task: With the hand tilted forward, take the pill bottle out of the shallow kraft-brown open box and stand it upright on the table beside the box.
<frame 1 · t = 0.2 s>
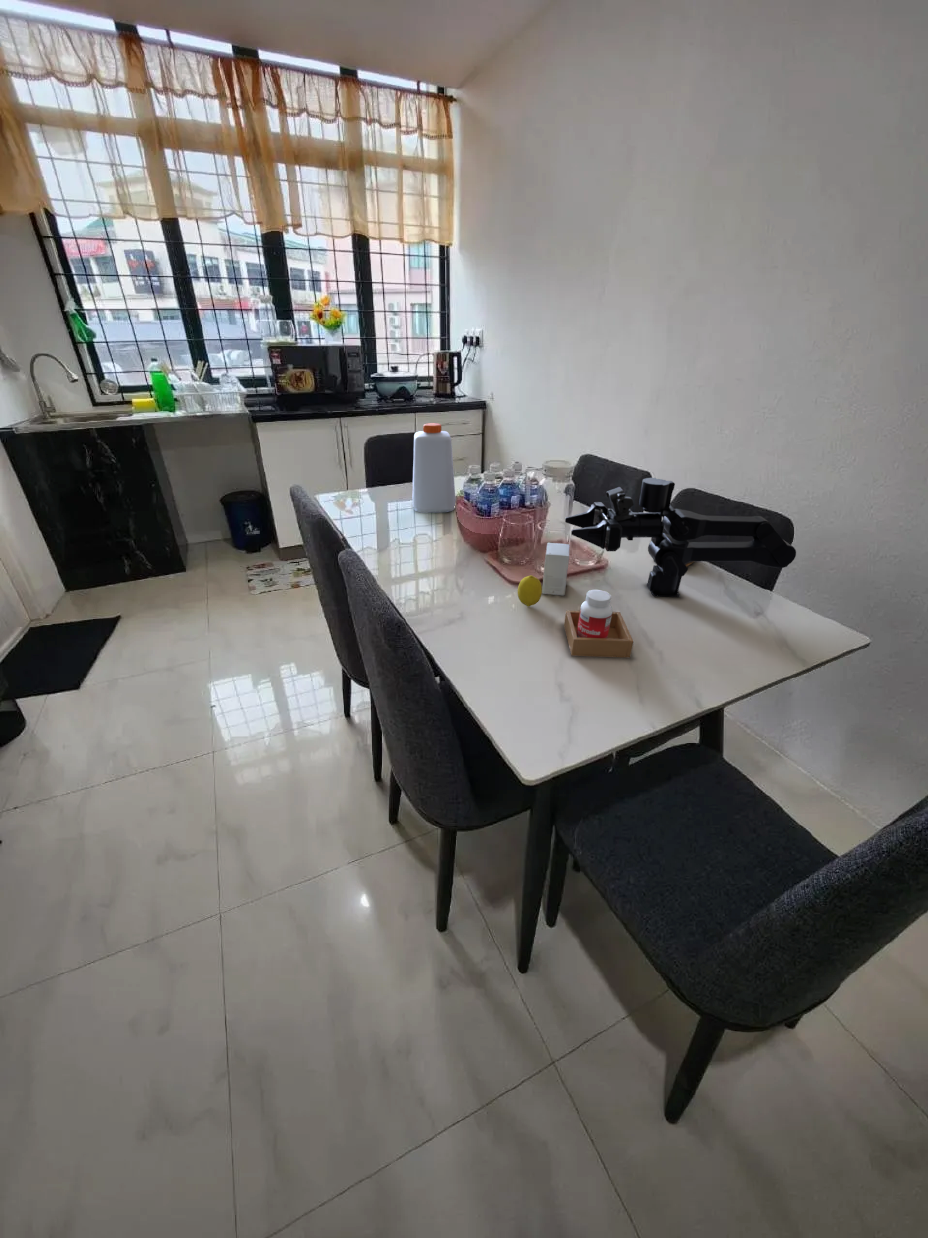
hand: (568, 525, 117), 16 cm above the table, tool horizontal, fingers open, 9 cm apart
lemon: (528, 607, 117), on the table
open box: (595, 640, 105), on the table
plastic bottle: (433, 507, 180), on the table
pill bottle: (590, 643, 103), resting on open box
small box: (553, 588, 125), on the table
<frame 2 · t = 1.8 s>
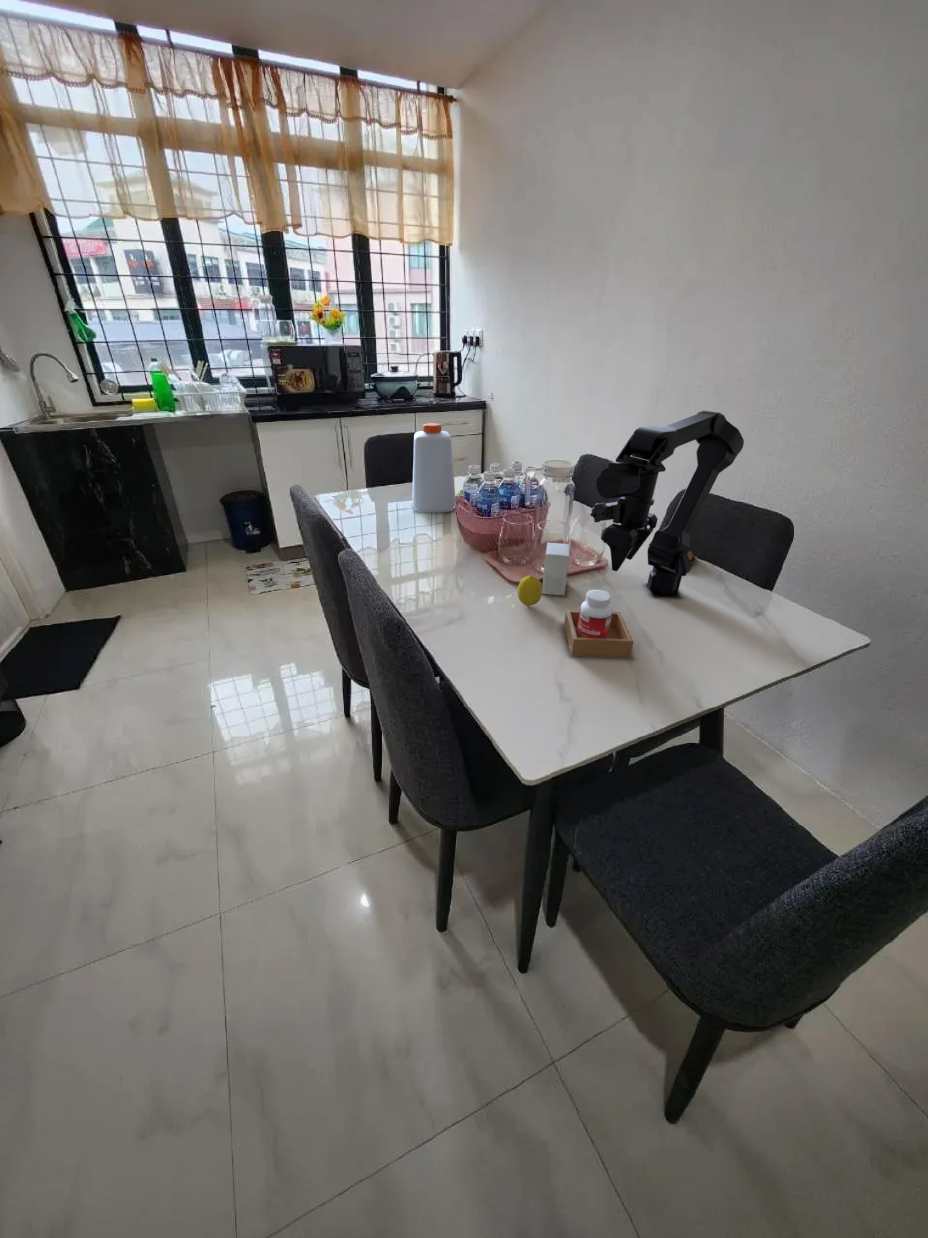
hand: (621, 564, 110), 12 cm above the table, tool pointing down, fingers open, 9 cm apart
nothing on the table moved.
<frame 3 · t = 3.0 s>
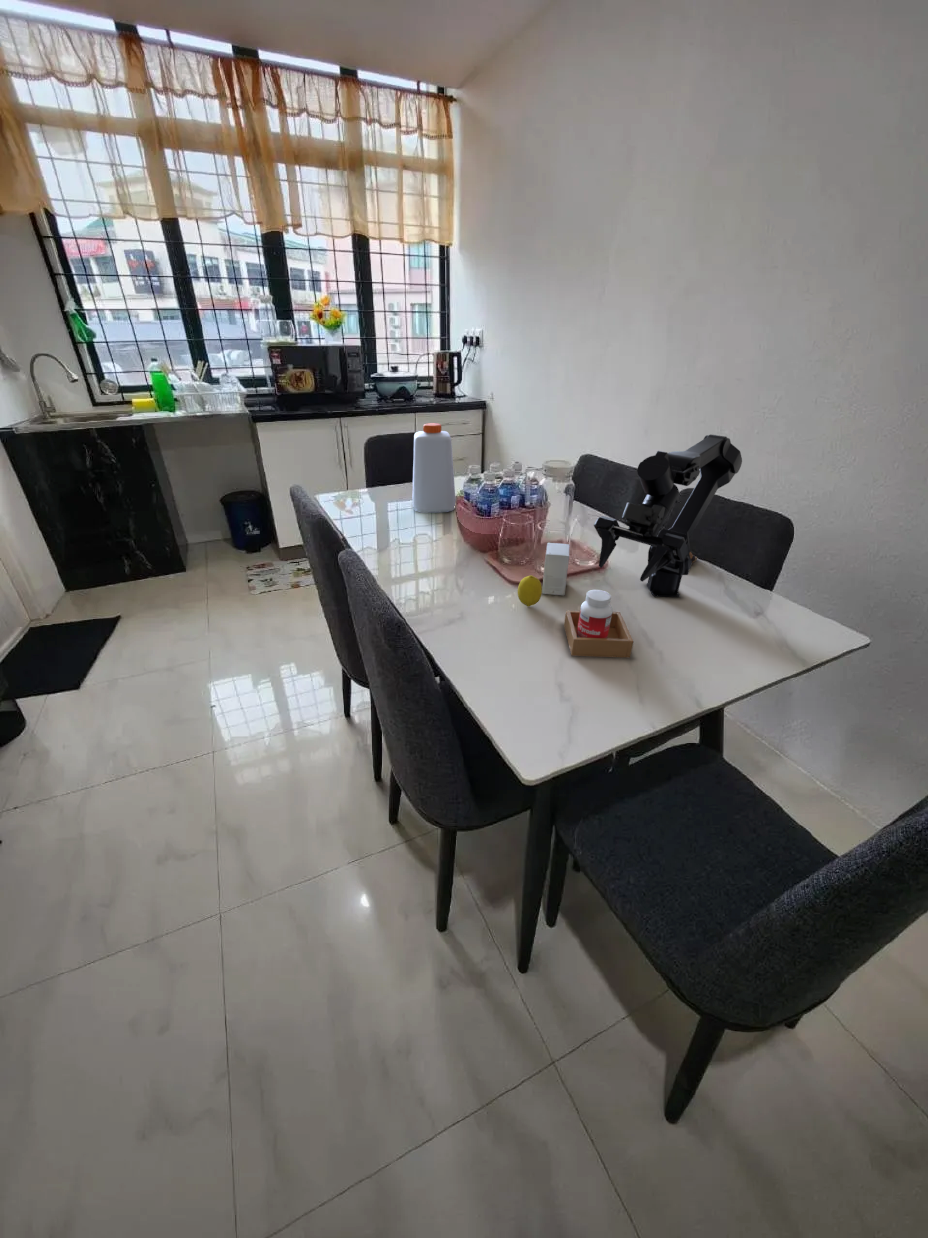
hand: (619, 573, 102), 13 cm above the table, tool tilted 45°, fingers open, 9 cm apart
nothing on the table moved.
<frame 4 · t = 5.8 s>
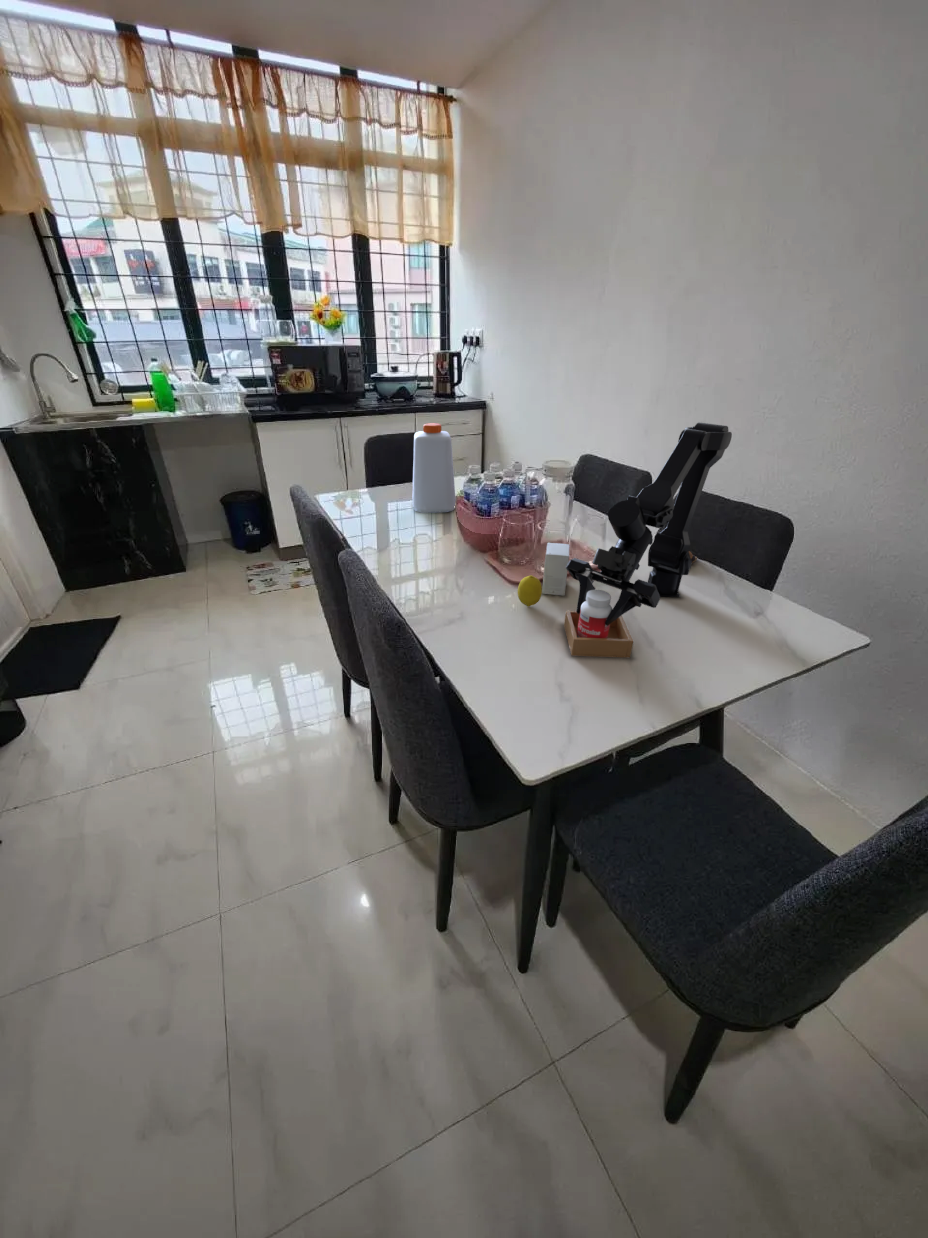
hand: (591, 618, 99), 7 cm above the table, tool tilted 45°, fingers closed on pill bottle, 6 cm apart
pill bottle: (590, 643, 103), resting on open box, touching gripper
everything else where it was.
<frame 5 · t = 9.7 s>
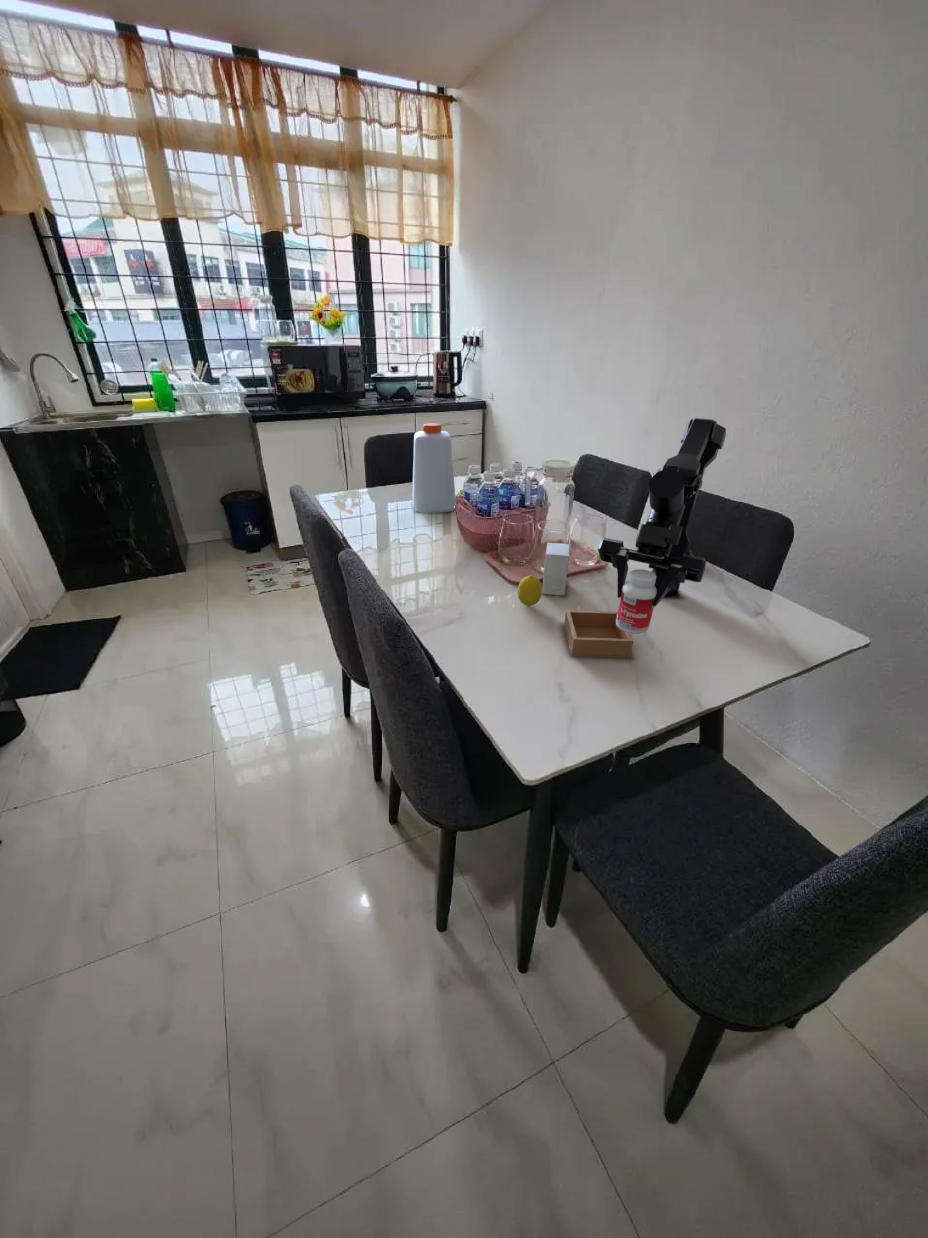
hand: (635, 601, 92), 13 cm above the table, tool tilted 45°, fingers closed on pill bottle, 6 cm apart
pill bottle: (631, 627, 96), point 7 cm above the table, touching gripper
everything else where it was.
when the fingers open (6 cm above the table, at t = 13.4 s): pill bottle stays where it is, on the table.
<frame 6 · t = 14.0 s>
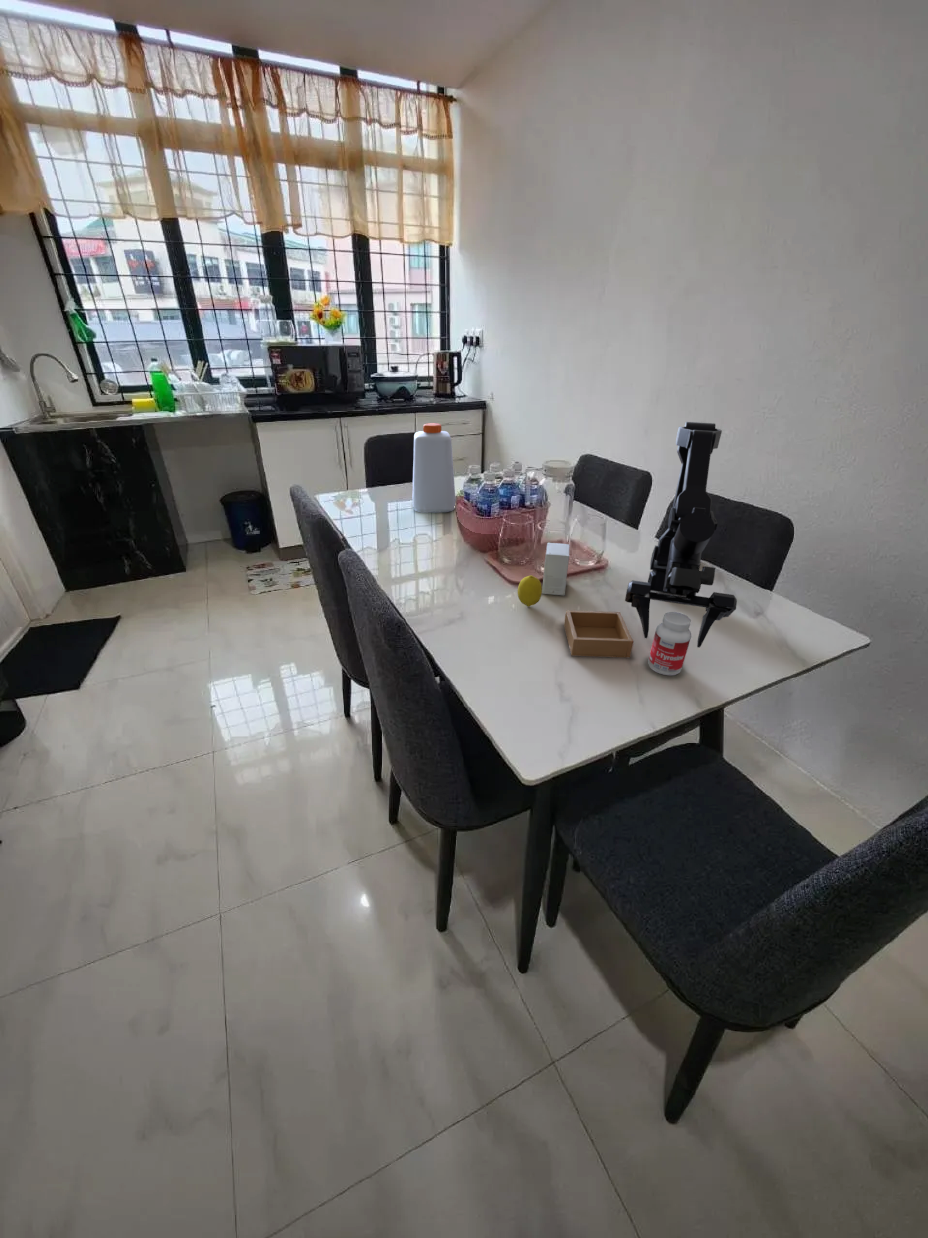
hand: (672, 642, 92), 7 cm above the table, tool tilted 45°, fingers open, 9 cm apart
pill bottle: (663, 667, 97), on the table
everything else where it was.
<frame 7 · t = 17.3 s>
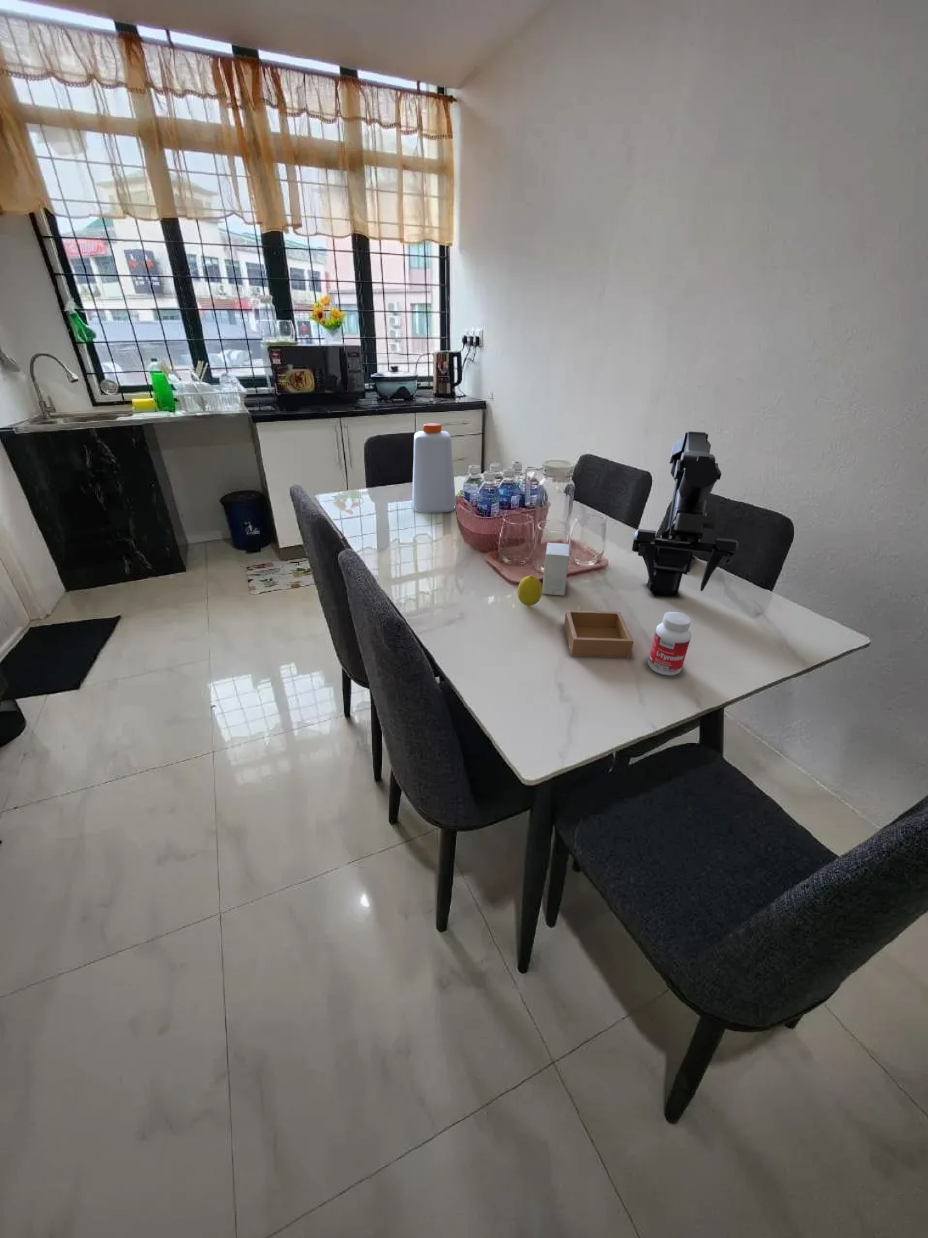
hand: (676, 586, 97), 13 cm above the table, tool tilted 45°, fingers open, 9 cm apart
nothing on the table moved.
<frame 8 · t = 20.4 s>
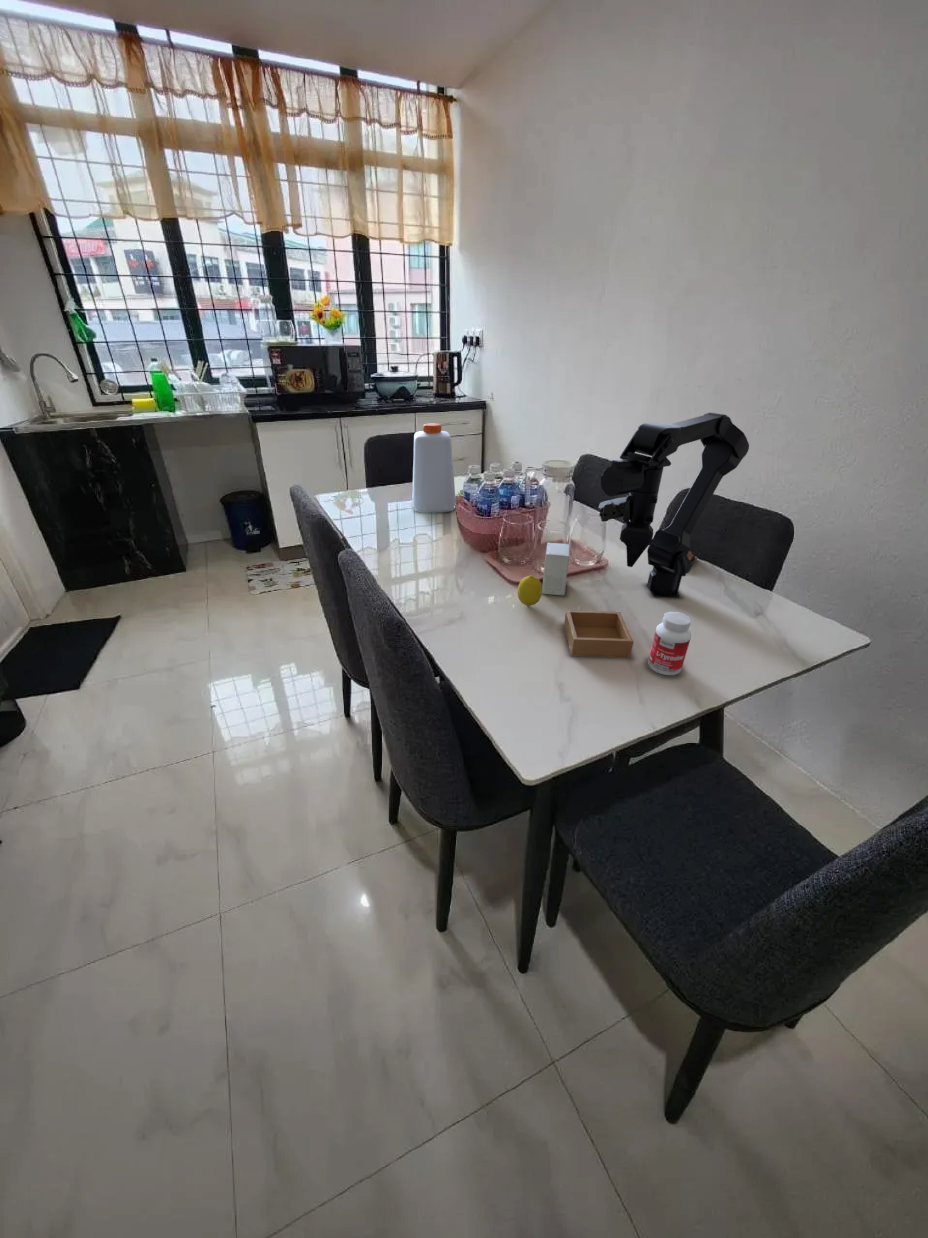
hand: (630, 558, 112), 12 cm above the table, tool pointing down, fingers open, 9 cm apart
nothing on the table moved.
at the end: pill bottle inside the target area (0.2 cm from its centre), on the table; pill bottle tilted 0°; the gripper is holding nothing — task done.
